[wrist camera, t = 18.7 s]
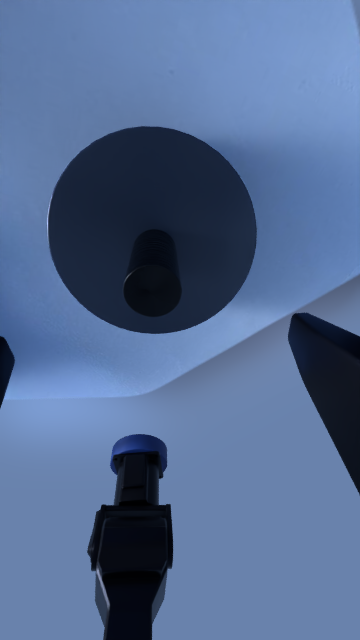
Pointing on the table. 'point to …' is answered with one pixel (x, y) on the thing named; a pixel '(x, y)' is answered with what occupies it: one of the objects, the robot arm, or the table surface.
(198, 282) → the lid
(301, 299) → the table surface
